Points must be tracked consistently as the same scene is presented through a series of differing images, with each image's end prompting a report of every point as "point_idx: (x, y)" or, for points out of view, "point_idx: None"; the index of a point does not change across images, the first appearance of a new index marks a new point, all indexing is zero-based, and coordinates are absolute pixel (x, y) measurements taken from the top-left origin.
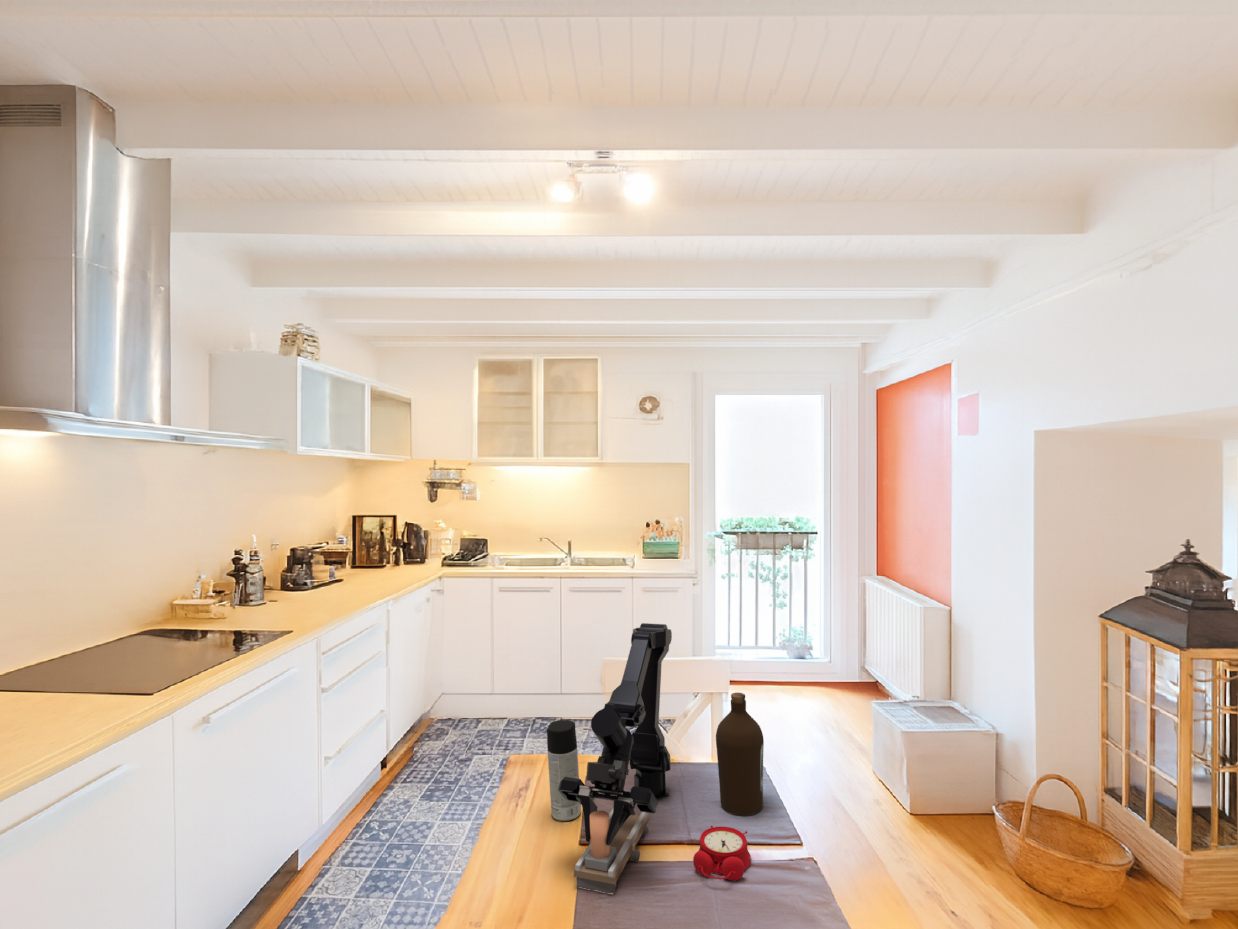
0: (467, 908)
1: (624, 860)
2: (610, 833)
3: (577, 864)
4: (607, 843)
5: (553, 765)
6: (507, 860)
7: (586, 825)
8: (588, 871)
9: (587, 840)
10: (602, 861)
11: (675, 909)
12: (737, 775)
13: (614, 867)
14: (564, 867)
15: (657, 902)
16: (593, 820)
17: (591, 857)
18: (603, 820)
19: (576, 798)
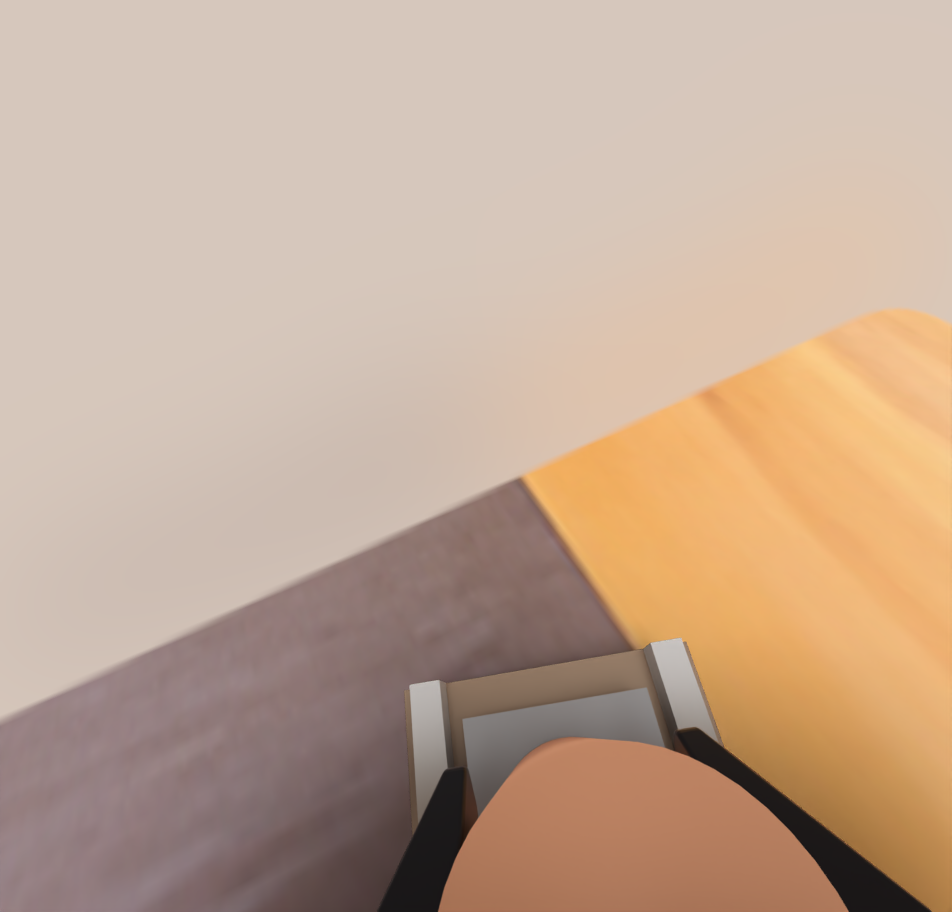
0: (932, 343)
1: None
2: (414, 857)
3: (673, 649)
4: (448, 771)
5: None
6: None
7: (814, 844)
8: (589, 672)
9: (678, 732)
10: (499, 716)
11: (112, 738)
12: None
13: (413, 740)
14: (877, 829)
15: (204, 751)
16: (640, 745)
17: (609, 731)
18: (470, 840)
19: None
